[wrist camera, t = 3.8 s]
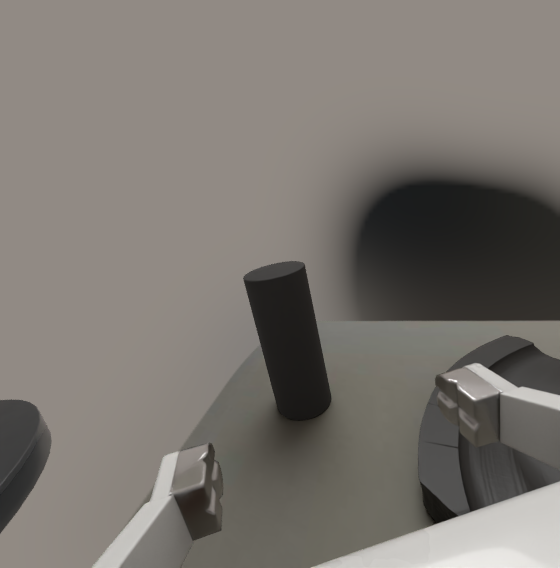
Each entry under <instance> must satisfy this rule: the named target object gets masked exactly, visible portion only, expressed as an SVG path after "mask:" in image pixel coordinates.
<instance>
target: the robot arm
mask: <svg viewBox="0 0 560 568" xmlns="http://www.w3.org/2000/svg"><path fill="white" fill-rule="evenodd" d="M435 384H436V386H437V387H438V388H439V389H440V390H439V392H438V394H437V404H438V406H439V409H440V411H441V413H442V414H443V416H444V417H445V418H446V419H447V420H448V421H449V422H450V423H452V424H454V425H457V426H459V429H460V433H461V434H462V435H463V436H464V437H465V438H466V439H467V440H468V441H469V442H470V443H471V444H472V445H473V446H474V447H475V448H477V447H480V446H484V445H487V444H491V443H494V442H498V441H500V442H501V443H503V444H505V445H507V446H509V447H512V448H514V449H516V450H518V451H520V452H522V453H524V454H526V455H528V456H531V457H533V458H535V459H537V460H539V461H541V462H543V463H545V464H547V465H550V466H552V467H554V468H556V469H558V470H560V395H555V394H551V393H547V392H543V391H539V390H535V389H530V388H526V387H520V388H518V387H516V386H515V385H513V384H511V383H510V382H508V381H507V380H505V379H503V378H502V377H500V376H499V375H497V374H495V373H494V372H492V371H491V370H489V369H487V368H486V367H484V366H482V365H481V364H478V363H473V364H470V365H467V366H464V367H462V368H459V369H455V370H452V371H449V372H445V373H442V374H439V375H436V378H435ZM214 457H215V451H214V448H213V445H212V444H211V443H206V444H203V445H199V446H195V447H191V448H188V449H184V450H181V451H178V452H174V453H171V454H167V455H165V456H164V458H163V459H162V462H161V466H160V469H159V472H158V476H157V479H156V483H155V486H154V489H153V493H152V496H151V500H150V502H148V503H145V504H144V505H143V507H142V508H141V509H140V510H139V511H138V513H137V514H136V515H135V516H134V517H133V518H132V520H131V521H130V522H129V523H128V524H127V526H126V527H125V528H124V529H123V530H122V532H121V533H120V534H119V535H118V536H117V538H116V539H115V540H114V541H113V542H112V543H111V545H110V546H109V547H108V548H107V549H106V551H105V552H104V553H103V554H102V555H101V557H100V558H99V559H98V560H97V561H96V563H95V564H94V565H93V566H92V567H91V568H181V566H182V564H183V562H184V560H185V558H186V556H187V554H188V552H189V550H190V548H191V546H192V544H193V541H194V540H196V539H199V538H202V537H205V536H207V535H210V534H213V533H216V532H219V531H221V527H222V506H221V503H220V498H221V497H222V495H223V478H222V472H221V468H220V465H219V462H218V461H216V460H214ZM310 568H560V481H559V482H556V483H553V484H550V485H547V486H545V487H542V488H539V489H536V490H533V491H530V492H527V493H524V494H521V495H519V496H516V497H513V498H510V499H507V500H504V501H501V502H498V503H495V504H493V505H490V506H487V507H484V508H481V509H478V510H475V511H472V512H470V513H467V514H464V515H461V516H458V517H455V518H452V519H449V520H446V521H444V522H441V523H438V524H435V525H432V526H429V527H426V528H423V529H420V530H418V531H415V532H412V533H409V534H406V535H403V536H400V537H397V538H394V539H391V540H389V541H386V542H383V543H380V544H377V545H374V546H371V547H368V548H365V549H363V550H360V551H357V552H354V553H351V554H348V555H345V556H342V557H339V558H336V559H334V560H331V561H328V562H325V563H322V564H319V565H316V566H313V567H310Z"/></svg>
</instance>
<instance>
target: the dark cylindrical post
mask: <svg viewBox="0 0 560 568" xmlns="http://www.w3.org/2000/svg"><path fill="white" fill-rule="evenodd" d="M243 279H244V283H245V286H246V290H247V294H248V298H249V302H250V305H251V309H252V313H253V317H254V321H255V325H256V328H257V331H258V336H259V339H260V343H261V347H262V351H263V355H264V358H265V362H266V366H267V370H268V374H269V377H270V381H271V385H272V389H273V392H274V396H275V400H276V404H277V407H278V410H279V412H280V413H281V414H282V415H283V416H285V417H287V418H289V419H293V420H306V419H310V418H313V417H316V416H318V415H319V414H321V413H322V412H324V411H325V410H326V409H327V407H328V406H329V404H330V402H331V393H330V388H329V383H328V378H327V373H326V368H325V363H324V358H323V353H322V348H321V344H320V339H319V334H318V329H317V324H316V319H315V314H314V309H313V304H312V299H311V294H310V289H309V284H308V279H307V274H306V269H305V264H304V263H302V262H297V261H290V262H282V263H276V264H271V265H268V266H264V267H261V268H258V269H256V270H253V271H251V272H249V273H248V274H246V275H245V276H244V278H243Z"/></svg>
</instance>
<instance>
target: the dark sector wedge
mask: <svg viewBox="0 0 560 568" xmlns="http://www.w3.org/2000/svg"><path fill="white" fill-rule="evenodd" d="M473 363H478V364H481V365H482V366H484V367H486V368H487V369H489V370H491V371H492V372H494V373H495V374H497V375H499V376H500V377H502V378H503V379H505V380H507V381H508V382H510V383H511V384H513V385H515V386H516V387H518V388H520V387H526V388H530V389H535V390H539V391H543V392H547V393H551V394H555V395H560V360H559V359H555V358H552V357H550V356H548V355H546V354H544V353H542V352H541V351H540V350H539V349H538V348H536V347H535V346H534V343H533V342H530V341H527V340H525V339H522V338H519V337H512V336H508V335H506V336H503V337H500V338H498V339H495V340H493V341H491V342H489V343H486V344H484V345H482V346H480V347H478V348H477V349H475V350H473V351H472V352H470V353H468V354H467V355H465V356H464V357H463V358H461V359H460V360H459V361H457V362H456V363H455V364H454V365H453V366H452V367H451V368H450V369H449V370H448V371H447V372H449V371H452V370H455V369H459V368H462V367H464V366H467V365H470V364H473ZM439 390H440V389H439V388H438V387H437V386H436V387H435V389H434V391H433V393H432V395H431V397H430V399H429V402H428V404H427V407H426V409H425V413H424V416H423V420H422V424H421V428H420V435H419V447H418V471H419V480H420V483H421V487H422V490H423V502H424V505H425V507H426V509H427V511H428V512H429V513H430V515H431V516H432V517H433V518H434V520H435V521H436V522H437V523H441V522H444V521H446V520H449V519H452V518H455V517H458V516H461V515H464V514H467V513H470V512H472V511H475V510H478V509H481V508H484V507H487V506H490V505H493V504H495V503H498V502H501V501H504V500H507V499H510V498H513V497H516V496H519V495H521V494H524V493H527V492H530V491H533V490H536V489H539V488H542V487H545V486H547V485H550V484H553V483H556V482H559V481H560V470H558V469H556V468H554V467H552V466H550V465H547V464H545V463H543V462H541V461H539V460H537V459H535V458H533V457H531V456H528V455H526V454H524V453H522V452H520V451H518V450H516V449H514V448H512V447H509V446H507V445H505V444H503V443H501V442H500V441H498V442H494V443H491V444H487V445H484V446H480V447H477V448H475V447H474V446H473V445H472V444H471V443H470V442H469V441H468V440H467V439H466V438H465V437H464V436H463V435H462V434H461V433H460V429H459V426H457V425H454V424H452V423H450V422H449V421H448V420H447V419H446V418H445V417H444V416H443V414H442V413H441V411H440V409H439V406H438V404H437V394H438V392H439Z"/></svg>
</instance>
